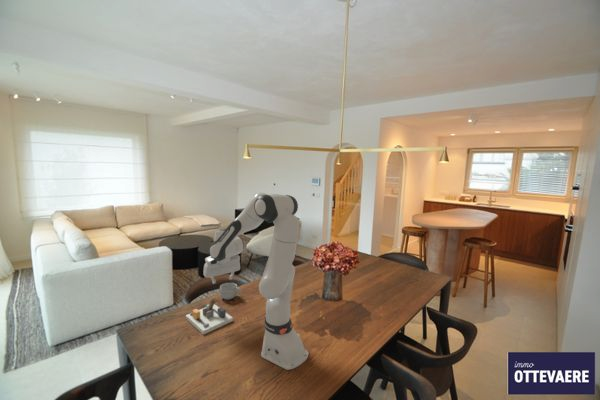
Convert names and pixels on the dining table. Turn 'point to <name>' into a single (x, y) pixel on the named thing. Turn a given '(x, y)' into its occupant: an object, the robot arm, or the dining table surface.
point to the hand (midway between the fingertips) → (222, 281)
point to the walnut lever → (211, 304)
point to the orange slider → (196, 313)
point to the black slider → (221, 312)
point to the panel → (209, 320)
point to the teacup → (229, 291)
